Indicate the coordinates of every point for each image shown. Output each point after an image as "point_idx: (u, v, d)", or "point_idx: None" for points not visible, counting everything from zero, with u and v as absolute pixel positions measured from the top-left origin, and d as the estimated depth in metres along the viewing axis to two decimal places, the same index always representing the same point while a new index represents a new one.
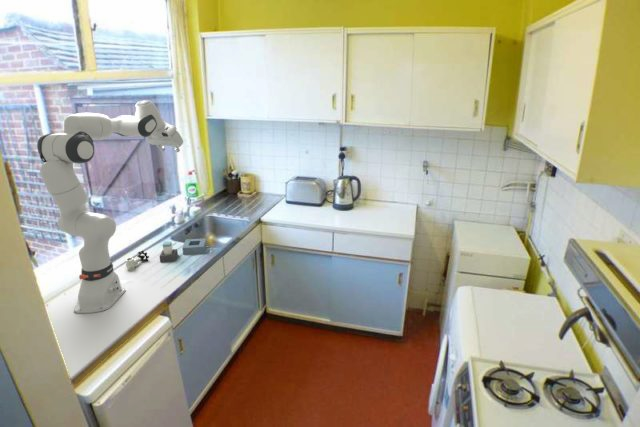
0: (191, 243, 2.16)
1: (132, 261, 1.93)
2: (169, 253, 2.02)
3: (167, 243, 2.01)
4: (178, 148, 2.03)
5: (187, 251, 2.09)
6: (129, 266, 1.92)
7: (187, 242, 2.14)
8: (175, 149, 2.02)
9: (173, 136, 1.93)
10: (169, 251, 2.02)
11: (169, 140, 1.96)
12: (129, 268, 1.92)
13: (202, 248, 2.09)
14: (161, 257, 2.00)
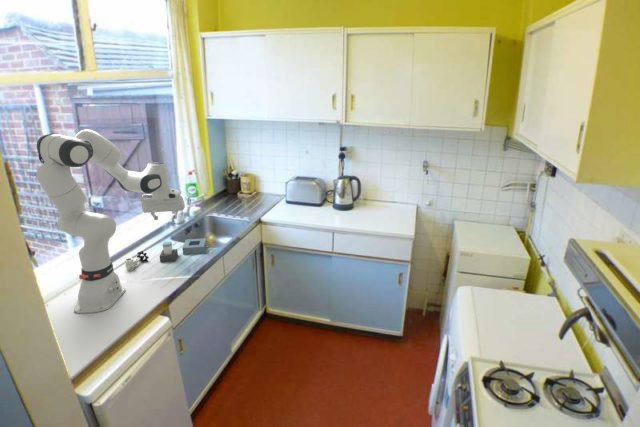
0: (191, 243, 2.16)
1: (132, 261, 1.92)
2: (169, 253, 2.02)
3: (167, 243, 2.01)
4: (176, 215, 1.99)
5: (187, 251, 2.09)
6: (128, 266, 1.92)
7: (187, 242, 2.14)
8: (173, 215, 1.98)
9: (179, 198, 1.94)
10: (169, 251, 2.02)
11: (172, 204, 1.95)
12: (128, 268, 1.92)
13: (202, 248, 2.09)
14: (161, 257, 2.00)
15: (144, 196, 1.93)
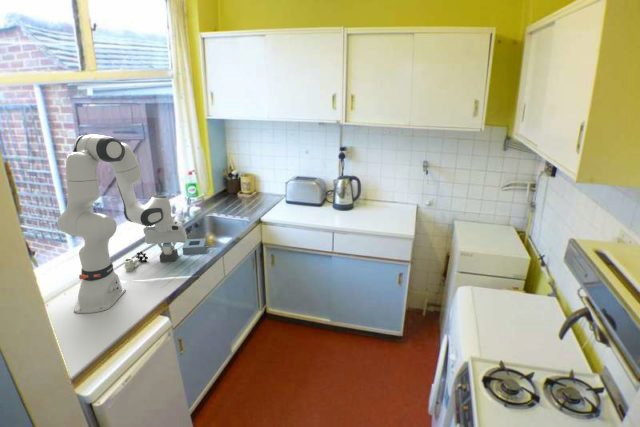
0: (191, 243, 2.16)
1: (131, 262, 1.92)
2: (169, 253, 2.02)
3: (167, 243, 2.01)
4: None
5: (187, 251, 2.09)
6: (128, 267, 1.91)
7: (187, 242, 2.14)
8: (171, 246, 2.02)
9: (182, 230, 1.99)
10: (169, 251, 2.02)
11: (175, 235, 1.99)
12: (128, 269, 1.92)
13: (202, 248, 2.09)
14: (161, 257, 2.00)
15: (147, 228, 1.97)
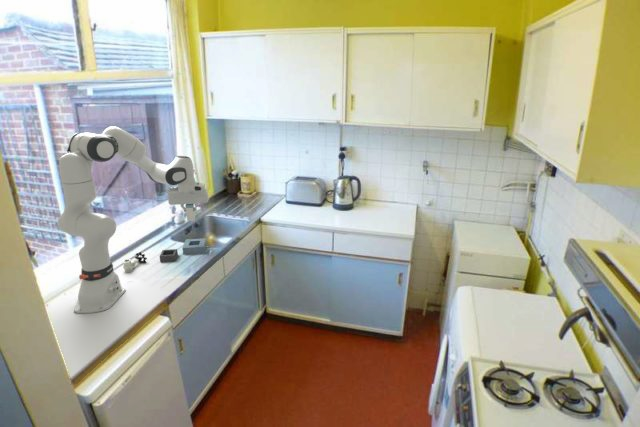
0: (191, 243, 2.16)
1: (130, 263, 1.91)
2: (191, 214, 2.06)
3: (189, 204, 2.05)
4: None
5: (187, 251, 2.09)
6: (127, 268, 1.90)
7: (187, 242, 2.14)
8: (193, 208, 2.06)
9: (204, 191, 2.03)
10: (191, 212, 2.06)
11: (197, 196, 2.03)
12: (127, 270, 1.91)
13: (202, 248, 2.09)
14: (161, 257, 2.00)
15: (170, 189, 2.01)
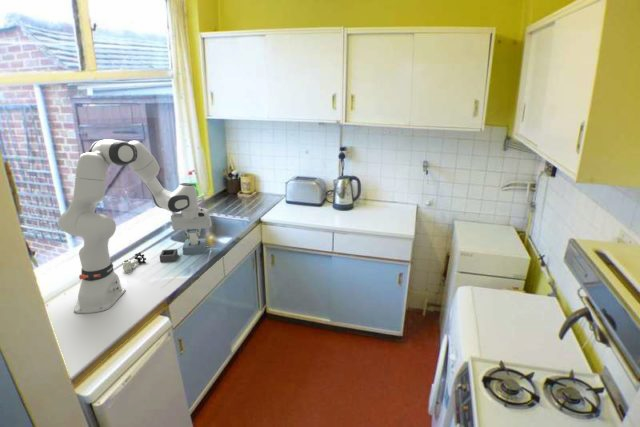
0: None
1: (129, 263, 1.90)
2: (195, 239, 2.11)
3: (193, 229, 2.10)
4: (199, 232, 2.13)
5: (187, 251, 2.09)
6: (126, 268, 1.90)
7: (187, 242, 2.14)
8: (197, 233, 2.11)
9: (207, 216, 2.08)
10: (195, 237, 2.11)
11: (200, 222, 2.08)
12: (126, 270, 1.90)
13: (202, 248, 2.09)
14: (161, 257, 2.00)
15: (174, 215, 2.06)
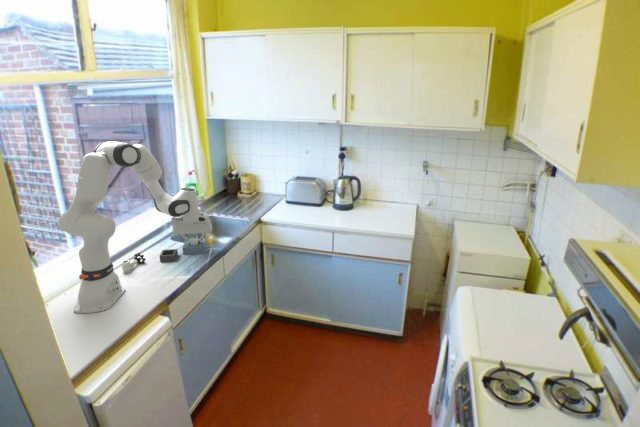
0: None
1: (128, 264, 1.90)
2: (195, 244, 2.12)
3: (193, 235, 2.11)
4: (203, 236, 2.14)
5: (187, 251, 2.09)
6: (125, 269, 1.89)
7: (187, 242, 2.14)
8: (200, 237, 2.12)
9: (208, 221, 2.09)
10: (195, 242, 2.12)
11: (201, 226, 2.09)
12: (125, 271, 1.90)
13: (202, 248, 2.09)
14: (161, 257, 2.00)
15: (175, 219, 2.07)
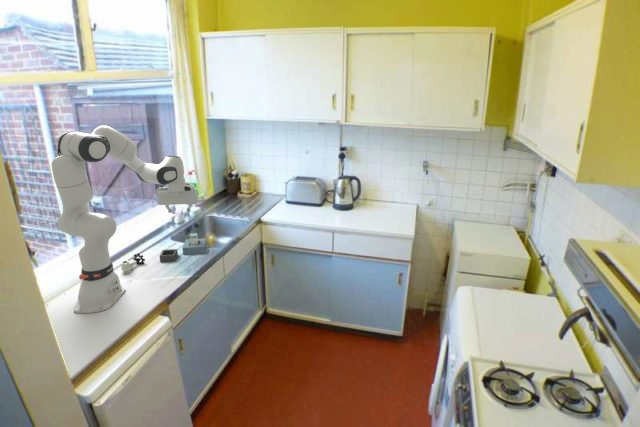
0: None
1: (128, 264, 1.90)
2: (195, 244, 2.12)
3: (193, 235, 2.11)
4: None
5: (187, 251, 2.09)
6: (124, 269, 1.89)
7: (187, 242, 2.14)
8: (187, 208, 2.04)
9: (194, 191, 2.00)
10: (195, 242, 2.12)
11: (187, 197, 2.01)
12: (124, 271, 1.89)
13: (202, 248, 2.09)
14: (161, 257, 2.00)
15: (160, 189, 1.98)
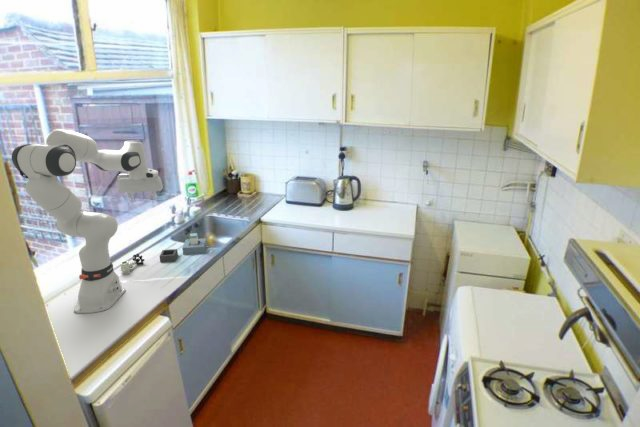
0: None
1: (127, 264, 1.89)
2: (195, 244, 2.12)
3: (193, 235, 2.11)
4: (154, 196, 1.96)
5: (187, 251, 2.09)
6: (124, 270, 1.88)
7: (187, 242, 2.14)
8: (151, 196, 1.95)
9: (157, 178, 1.91)
10: (195, 242, 2.12)
11: (149, 184, 1.91)
12: (124, 272, 1.89)
13: (202, 248, 2.09)
14: (161, 257, 2.00)
15: (121, 176, 1.89)
